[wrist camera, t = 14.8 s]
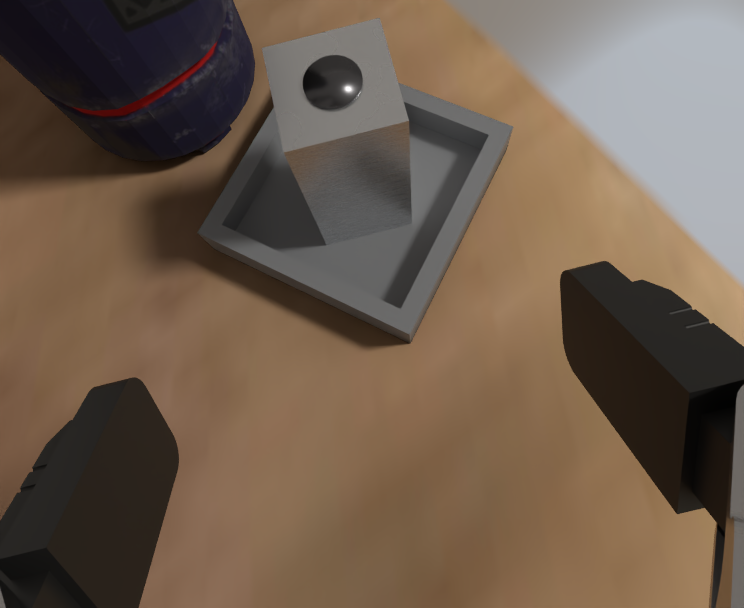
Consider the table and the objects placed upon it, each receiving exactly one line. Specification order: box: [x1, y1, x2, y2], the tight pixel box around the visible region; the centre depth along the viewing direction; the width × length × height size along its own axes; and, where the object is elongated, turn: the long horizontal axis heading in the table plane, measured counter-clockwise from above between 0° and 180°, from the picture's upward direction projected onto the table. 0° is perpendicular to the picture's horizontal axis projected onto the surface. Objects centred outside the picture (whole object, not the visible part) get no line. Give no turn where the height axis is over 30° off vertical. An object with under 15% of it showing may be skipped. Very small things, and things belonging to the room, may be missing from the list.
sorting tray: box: [197, 83, 513, 343], centre depth 30 cm, size 13×13×2 cm
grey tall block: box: [262, 18, 412, 245], centre depth 26 cm, size 5×5×10 cm
